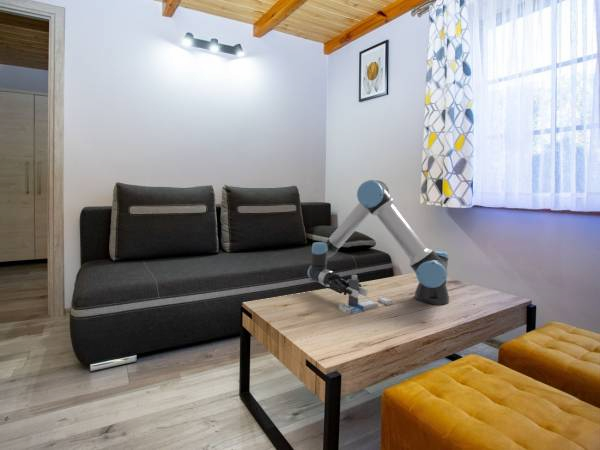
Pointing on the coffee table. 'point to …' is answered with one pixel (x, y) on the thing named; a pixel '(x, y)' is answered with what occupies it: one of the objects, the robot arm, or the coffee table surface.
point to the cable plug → (354, 285)
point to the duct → (364, 305)
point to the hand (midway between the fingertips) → (362, 294)
